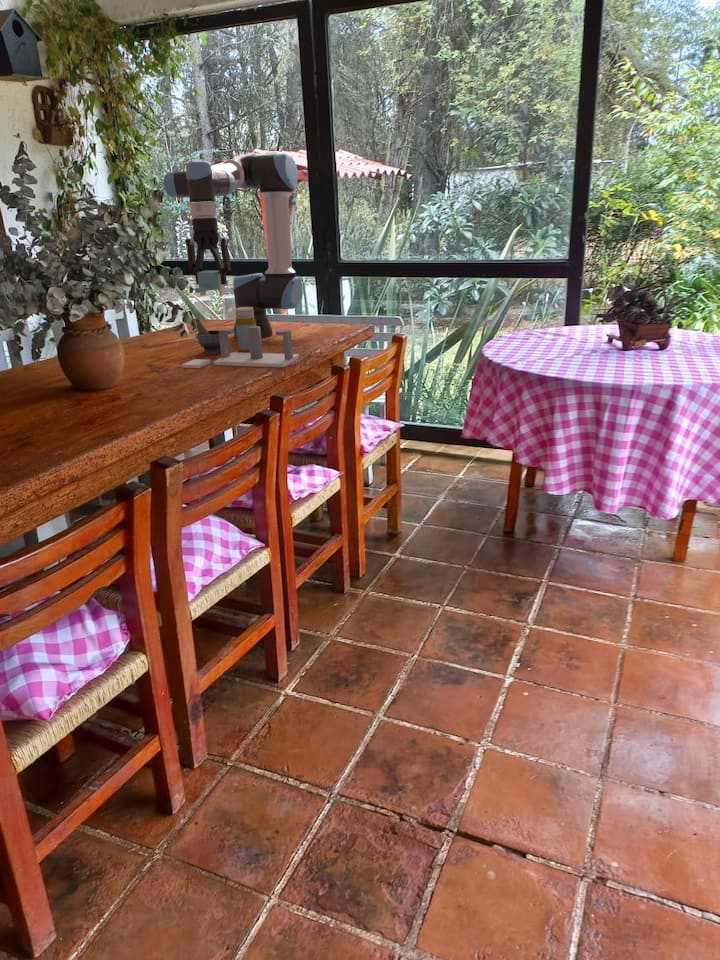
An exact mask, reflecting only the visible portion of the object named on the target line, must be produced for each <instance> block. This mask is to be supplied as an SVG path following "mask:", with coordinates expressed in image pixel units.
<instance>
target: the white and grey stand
mask: <svg viewBox="0 0 720 960" xmlns="http://www.w3.org/2000/svg"><path fill="white" fill-rule="evenodd" d="M218 330H219V340H220V349H221V353H220V355H221V356H220V357H219V358H218V359H216V360H214V361H213V366H228V367H230V366H232V367H254V368H255V367H257V368H258V367H259V368H261V367H262V368H284V367H286V366H288V365H290V364H292V363H293V362H295V361H296V360H298V359H300V354H299V353H293V342H292V341H293V340H292V330H290V329H278V330H276V331H275V335H276V336H282V338H283V353H274V352H273V353H269V352H268V353H267V352H263V343H262V338H261V329H260V326H251V327H248V334H249V344H250V353H240V352H239V351H237V352H236V351H233V352H231V353H230V346H229V345H230V344H229V336H228V335H232V334H234V328H221V329H218Z"/></svg>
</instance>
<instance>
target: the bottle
mask: <svg viewBox="0 0 720 960" xmlns="http://www.w3.org/2000/svg"><path fill="white" fill-rule="evenodd" d="M235 321H236V322H235V323H236V333H237V338H236V342H237V350H238V351H237V352H241V353H250V344H249V334H248V327H251V326H256V321H255V318H254V310H253V307H239V308H236V307H235ZM235 323H234V324H235Z"/></svg>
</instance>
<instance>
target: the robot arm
mask: <svg viewBox="0 0 720 960" xmlns="http://www.w3.org/2000/svg"><path fill="white" fill-rule="evenodd" d="M298 181H299V172H298V168H297V163H296V162H295V159H294V158H293V156H292V155H291V154H290V153H288V152H285V151H284V152H283V151H274V152H273V151H272V152H262V153H261V152H260V153H258V152H257V153H248V154H244V155H241V156H237V157H234V158H230V159H227V160H224V162H222V163H221V164H214V165H212V164H211V162H210V161H200V160H199V161H188V162H187V163H186V164H185V170H182V171H172V172H170V171H169V172H167V173H166V174H165V175H164V178H163V182H162V183H163V188H164V191H165V193H166V194H167V196H169V197H171V198H178V199H180V198H189V205H190V206H189V207H190V215H191V217H193V218H192V219H191V224H192V231H193V236H192V237H190V238H186V239H185V240H184V242H185V245H186V249H187V260H188V261H187V262H188V272H190V273H193V274H194V275H195V283H196V285H198V286H199V284H198V276H197V273H198V272H202V271H203V264H204V257H205V253H206V250H209V252H210V253H211V255H212V257H213V260H214V262H215V265H216V267H217V270H219V274H217V275H218V284H219V289H218V292H219V293H218V294H219V297H223V296H226V288H225V287H226V286H225V285H224V284H226V283H227V281H228V280H227V273H228V272H231V271H232V266H231V265H232V264H231V258H230V253H229V247H228V245H229V238H228V237H222V236H220V234H219V231H218V230H219V227H218V218H217V217H215V216H217V209H216V208H217V207H216V199H215V197H226V196H229V195H231V194H232V193H233V192H234V191H235V190H236V189H252V190H255V189H257V190H258V189H259V191H260V192H259V193H260V195H261V196H262V198H264V207H265V224H266V225H265V226H266V227H265V229H266V242H267V243H266V244H267V246H266V247H267V260H268V263H267V264H268V268H267V269H266V271H265V272H264V274H263V272H256V273H251V274H245V275H244V274H243V275H240V276H236V277H235V278H234V279H233V281H232V283H233V285H232V286H233V287H232V288H233V290H232V291H233V297H234V298H233V299H234V305H235V309H236V308H239V307H253V310H254V318H255V321H256V326H260V329H261V339H262V338H267V337H271V336H273V334H274V333H273V328H272V325H271V322H270V320H269V317H268V316H267V310H268V309H271V310H273V309H274V310H294V309H296V308H298V306H299V305H300V303H301V300H302V298H303V297H302V296H303V291H304V286H303V281H302V279H301V278H300V277H299V276H297V271H296V270H295V269H294V268H293V264H292V262H293V261H292V243H291V242H292V241H291V224H290V218H291V217H290V203H289V201H290V200H289V199H290V197H291V196H292V195H293V188H295V187H297V185H298ZM218 243H219V245H220V250H219V247H218ZM195 244H196V245H197V246H196V247H197V248H196V249H195ZM195 251H196V253H195ZM220 252H221V254H220ZM206 295H207V291H205V292H202V293H199V296H201V297H203V296H206ZM235 322H236V320H235ZM233 329H234V333H233V337H234V338H236V339H237V333H236V323H234V328H233Z"/></svg>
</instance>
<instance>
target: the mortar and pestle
mask: <svg viewBox="0 0 720 960" xmlns="http://www.w3.org/2000/svg"><path fill="white" fill-rule="evenodd" d="M195 319H196V322H197V328H196V330H197V331H198V332H197V334H196V335H197V337H196V338H197V341H198V343H199V345H200V347H201V348H203V349H204V354H205V355H216V354H221V353H220V352H221V349H220V340H219V330H220V329H216V330H214V329H213V330H208V329H206V327H205V326H204V324H203V323H202V322H201V319H200V318H199V317H197V318H195Z"/></svg>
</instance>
